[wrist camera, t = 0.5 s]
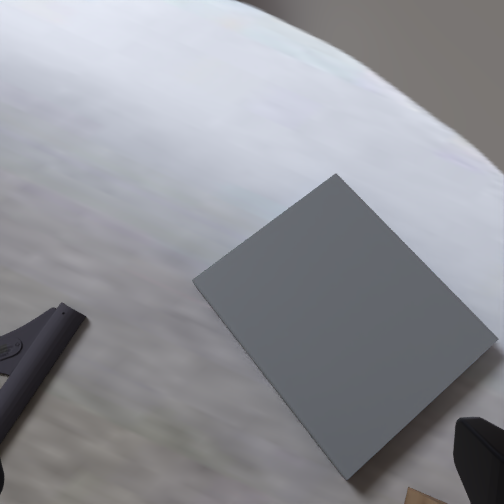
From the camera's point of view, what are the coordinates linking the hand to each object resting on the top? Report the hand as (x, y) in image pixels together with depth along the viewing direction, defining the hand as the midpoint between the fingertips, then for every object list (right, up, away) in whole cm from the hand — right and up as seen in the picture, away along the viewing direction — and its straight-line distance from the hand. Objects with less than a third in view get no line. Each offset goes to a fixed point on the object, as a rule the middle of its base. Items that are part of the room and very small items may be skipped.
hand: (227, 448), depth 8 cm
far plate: (+5, 0, +17) cm, 18 cm away
